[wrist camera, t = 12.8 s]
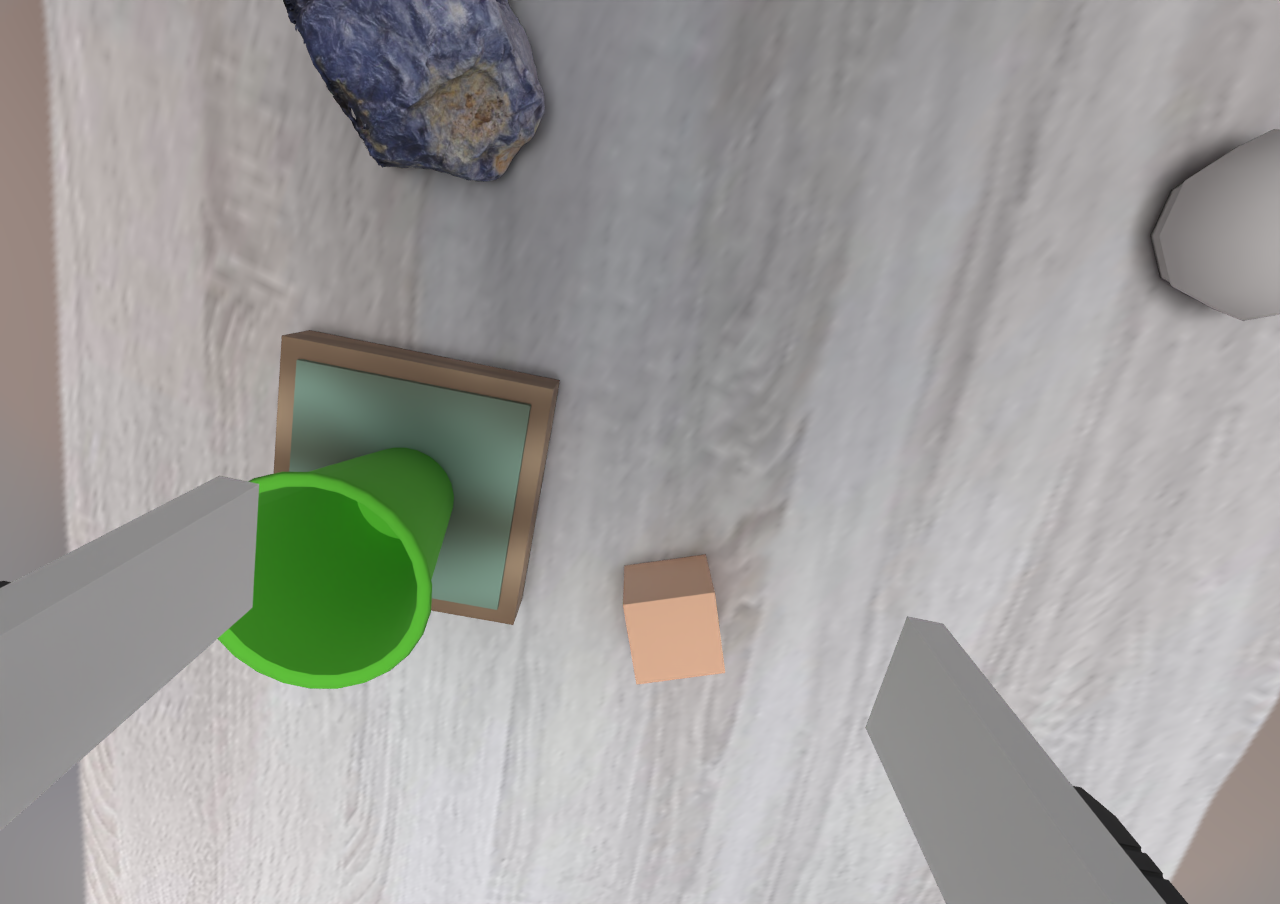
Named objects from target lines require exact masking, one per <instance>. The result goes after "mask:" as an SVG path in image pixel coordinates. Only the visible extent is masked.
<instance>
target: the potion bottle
mask: <svg viewBox="0 0 1280 904" xmlns="http://www.w3.org/2000/svg"><path fill="white" fill-rule="evenodd" d="M1151 240H1152V244H1153V248H1154V252H1155V257H1156V261H1157V265H1158V269H1159V273H1160V277H1161V278H1162V279H1164V280H1166V281H1167V282H1169V283H1170V284H1171V286H1172V287H1174V288H1176V289H1178V290H1180V291H1181V292H1183V293H1185V294H1187V295H1189V296H1191V297H1192V298H1194V299H1196V300H1198V301H1200V302H1202V303H1203V304H1205V305H1207V306H1209V307H1211V308H1213V309H1215V310H1218V311H1220V312H1222V313H1225V314H1227V315H1230V316H1232V317H1235V318H1237V319H1240V320H1242V321H1245V320H1251V319H1256V318H1262V317H1268V316H1273V315H1279V314H1280V130H1277V129H1273V130H1271V131H1269V132H1267V133H1265V134H1263V135H1261V136H1259V137H1257V138H1255V139H1253V140H1251V141H1249V142H1247V143H1245V144H1243V145H1241V146H1239V147H1236V148H1235V149H1233V150H1232V151H1230V152H1229V153H1227V154H1226V155H1224V156H1223V157H1221V158H1219V159H1218V160H1216V161H1215V162H1213V163H1212V164H1210V165H1209V166H1207V167H1205V168H1204V169H1202V170H1201V171H1199V172H1198V173H1196V174H1195V175H1193V176H1191V177H1190V178H1188V179H1187V180H1185V181H1184V183H1182V184H1181V185H1179V186H1177V187H1176V188H1174V189H1173V190H1171V193H1170V195H1169V197H1168V199H1167V201H1166V203H1165V206H1164V208H1163V210H1162V212H1161V214H1160V217H1159V219H1158V221H1157V223H1156V225H1155V228H1154V230H1153V232H1152V234H1151Z"/></svg>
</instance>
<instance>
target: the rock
mask: <svg viewBox="0 0 1280 904" xmlns="http://www.w3.org/2000/svg"><path fill="white" fill-rule="evenodd" d="M283 2H284V4H285V7H286V9H287V13H288V17H289V19H290V21H291V23H294V24H296V25H295V30H296V31H297V29H298V31H299V32H300V34H301V36H302V38H303V39H304V44H305V43H306V47H307V50H308V52H309V55H310V54H311V55H310V57H311V60H312V62H313V65H314V66H315V68H316V69H317V70H318V72H319V73H320V74H321V77H322V79H323V80H324V81H325V83H326V85H327V86H326V87H328V90H329V91H330V92H331V93H332V94H333V95H334V96H333V97H334V99H335V100H336V102H337V103H338V104H339V105H340V107H341V109H342V110H343V112H344V113H345V114H346V115H347V116H348V117H349V119H350V120H351V121H352V123H353V126H354V128H355V129H356V131H357V132H358V133H359V136H360V138H362V139H363V140H364V142H363V143H365V145H366V147H367V148H368V149H367V150H368V151H369V153H370V156H372V157H373V158H374V159H375V160H376V162H377V163H378V165H381V166H382V167H401V168H408V167H417V168H423V169H433V170H436V171H439V172H444V173H449V174H452V175H453V176H457V177H460V178H463V179H466V180H475V181H491V180H496V179H497V178H499V177H500V176H502V175H503V173H504V172H505V171H506V170H507V168H508V166H509V164H510V162H511V161H512V159H513V157H514V156H515V155H516V154H517V152H518V151H519V150H520V148H521V146H523V145H524V144H525V143H527V142H529V141H530V140H531V139H532V137H533V136H534V134H535V132H536V130H537V128H538V125H539V123H540V121H541V118H542V116H543V115H544V111H545V107H544V93H543V89H542V87H541V85H540V83H539V81H538V77H537V69H536V66H535V64H534V61H533V55H532V50H531V46H530V43H529V41H528V38H529V37H528V38H527V35H526V32H525V30H524V28H523V27H522V25H521V24H520V23H519V22H518V17H516V16H515V15H514V13H513V11H512V9H511V8H510V6H509V3H508V1H507V0H283ZM351 108H352V110H353V112H354V114H355V116H356V119H355V118H354V117H353V116H352V113H351ZM363 128H364V129H363Z"/></svg>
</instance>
